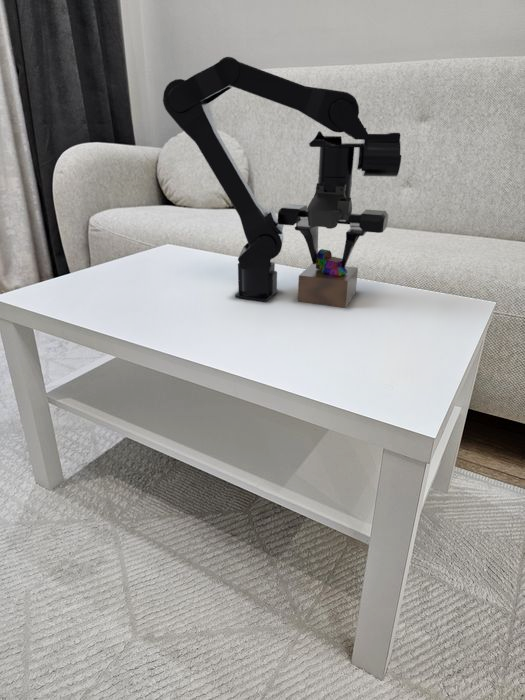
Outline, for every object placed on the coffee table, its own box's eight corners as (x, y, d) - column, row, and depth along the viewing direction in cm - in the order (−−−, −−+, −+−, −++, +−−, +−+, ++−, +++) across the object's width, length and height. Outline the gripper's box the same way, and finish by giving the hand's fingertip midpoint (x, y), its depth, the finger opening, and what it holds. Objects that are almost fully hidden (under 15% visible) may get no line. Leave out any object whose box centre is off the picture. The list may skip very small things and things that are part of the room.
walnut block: (297, 301, 88) (298, 275, 86) (311, 286, 96) (312, 262, 93) (345, 307, 85) (347, 281, 83) (355, 292, 93) (358, 267, 90)
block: (311, 269, 88) (312, 251, 87) (324, 265, 91) (325, 247, 90) (339, 276, 85) (340, 257, 83) (351, 271, 88) (352, 253, 86)
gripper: (267, 178, 77) (266, 271, 84) (383, 184, 71) (372, 284, 78) (288, 171, 86) (286, 256, 93) (393, 176, 80) (382, 266, 87)
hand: (328, 265), depth 88 cm, fingers closed on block, 5 cm apart
